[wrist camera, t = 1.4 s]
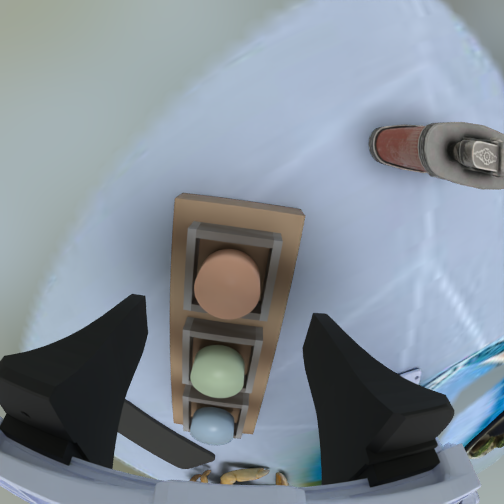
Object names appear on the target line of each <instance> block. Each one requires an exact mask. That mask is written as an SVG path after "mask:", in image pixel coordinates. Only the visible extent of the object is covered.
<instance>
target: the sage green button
mask: <svg viewBox="0 0 504 504" xmlns="http://www.w3.org/2000/svg"><path fill="white" fill-rule="evenodd" d="M244 368H245V363H244V360H243V358H242V356H241V355H240V354H239V353H238V352H237V351H236V350H234V349H232V348H230V347H227V346H223V345H210V346H206V347H204V348H202V349H201V350H200V351H198V353H197V354H196V356H195V360H194V364H193V367H192V371H191V376H190V379H191V383H192V385H193V386H194V387H195V388H196V389H197V390H198V391H199V392H201V393H202V394H204V395H207V396H210V397H214V398H227V397H231V396H234V395H236V394H237V393H239V392H240V391H241V389H242V388H243V385H244Z"/></svg>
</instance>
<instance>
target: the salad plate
mask: <svg viewBox="0 0 504 504" xmlns="http://www.w3.org/2000/svg"><path fill="white" fill-rule="evenodd" d="M503 446H504V411H503V412H502V413H501V414H500V415H499V416H498V417H497V418H496V419H494V420H493V421H492V422H491V423H490V424H489V425H488V426H487V427H486V428H485V429H484V430H483V431H481V432H480V433H479V434H478V435H477V436H476V437H475V438H474V439H473V440H472V441H471V442H470V443H469V444H468V445H467V446H466V448H465V451H466V453H467V455H468V457H469V459H477V458H480V457H483V456H484V455H486V454H487V453H489V452H490V451H492V450H493V449H494V448H496V447H497V448H501V447H503Z"/></svg>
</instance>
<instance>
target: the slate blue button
mask: <svg viewBox="0 0 504 504" xmlns="http://www.w3.org/2000/svg"><path fill="white" fill-rule="evenodd" d="M190 433H191V435H192V437H193V438H194V439H196V440H197V441H199V442H201V443H204V444H208V445H224V444H227V443H229V442H231V441H232V439H233V433H234V417H233V416H232V415H231V414H230V413H229V412H228V411H226V410H223V409H221V408H216V407H203V408H200V409H198V410H196V411H195V412H194V414H193V419H192V424H191V429H190Z"/></svg>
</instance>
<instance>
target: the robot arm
mask: <svg viewBox="0 0 504 504" xmlns="http://www.w3.org/2000/svg"><path fill="white" fill-rule="evenodd" d="M147 335H148V327H147V315H146V300H145V296H143V295H136V294H131V295H130V296H128V297H127V298H126V299H124V300H123V301H122V302H120V303H119V304H118V305H116V306H115V307H114V308H112V309H111V310H110V311H108V312H107V313H105V314H104V315H103V316H101V317H100V318H98V319H97V320H95V321H94V322H92V323H91V324H89V325H88V326H86V327H84V328H83V329H81V330H79V331H77V332H76V333H74V334H72V335H70V336H68V337H66V338H63V339H61V340H59V341H56V342H54V343H52V344H49V345H47V346H44V347H41V348H38V349H34V350H31V351H27V352H23V353H18V354H13V355H7V356H4V357H3V358H2V360H1V361H0V405H1V406H2V408H3V409H4V411H5V412H6V416H5V418H4V419H3V418H2V417H0V486H2V487H3V488H5V489H6V490H8V491H10V492H11V493H13V494H14V495H16V496H18V497H19V498H21V499H23V500H25V501H26V502H28V503H30V504H457V503H459V502H460V503H459V504H478V503H479V501H480V499H479V495H478V493H477V491H476V490H477V489H479V488H480V487H481V483H480V481H479V479H478V477H477V474H476V472H475V470H474V468H473V465H472V463H471V461H470V459H469V457H468V455H467V453H466V451H465V449H464V447H463V445H462V444H458V445H456V444H450V443H447V444H445V445H444V447H443V446H442V444H441V443H440V441H439V439H438V437H437V436H438V435H439V434H440V433H441V432H442V431H443V430H444V429H445V428H446V427H447V425H448V424H449V423H450V422H451V420H452V418H453V416H454V409H453V407H452V405H451V404H450V402H449V400H448V398H447V397H446V395H444V394H441V393H438V392H435V391H432V390H430V389H427V388H424V387H422V386H420V385H419V381H420V377H421V370H420V369H416V370H413V371H410V372H407V373H404V374H401V375H398V374H397V373H395V372H393V371H392V370H390V369H389V368H387V367H386V366H384V365H383V364H381V363H380V362H379V361H377V360H376V359H375V358H373V357H372V356H371V355H370V354H368V353H367V352H366V351H365V350H364V349H362V348H361V347H360V346H359V345H358V344H357V343H356V342H355V341H354V340H353V339H352V338H351V337H350V336H348V335H347V334H346V333H345V332H344V331H343V330H342V329H341V328H340V327H339V326H338V325H337V324H336V323H335V322H334V321H333V320H332V319H331V318H330V317H329V316H328V315H327V314H321V313H313V315H312V319H311V322H310V325H309V329H308V332H307V335H306V339H305V342H304V345H303V358H304V366H305V371H306V375H307V378H308V382H309V386H310V390H311V393H312V397H313V401H314V405H315V409H316V414H317V420H318V428H319V438H320V449H321V467H322V485H321V486H311V487H299V488H297V487H294V486H285V485H229V484H214V483H203V482H194V481H182V480H168V481H162V480H156V479H151V478H146V477H141V476H137V475H133V474H129V473H125V472H121V471H116V470H113V469H112V467H113V458H114V450H115V444H116V437H117V432H118V427H119V422H120V417H121V413H122V408H123V404H124V400H125V397H126V394H127V391H128V388H129V386H130V383H131V381H132V378H133V376H134V373H135V371H136V368H137V366H138V363H139V361H140V358H141V356H142V353H143V350H144V347H145V343H146V339H147Z"/></svg>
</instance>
